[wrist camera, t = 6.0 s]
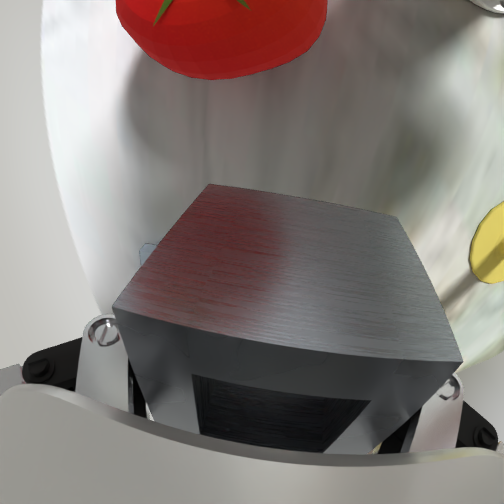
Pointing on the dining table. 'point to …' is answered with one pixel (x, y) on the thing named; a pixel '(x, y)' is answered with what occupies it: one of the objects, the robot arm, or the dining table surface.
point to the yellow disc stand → (489, 247)
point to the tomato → (222, 33)
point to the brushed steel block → (285, 324)
